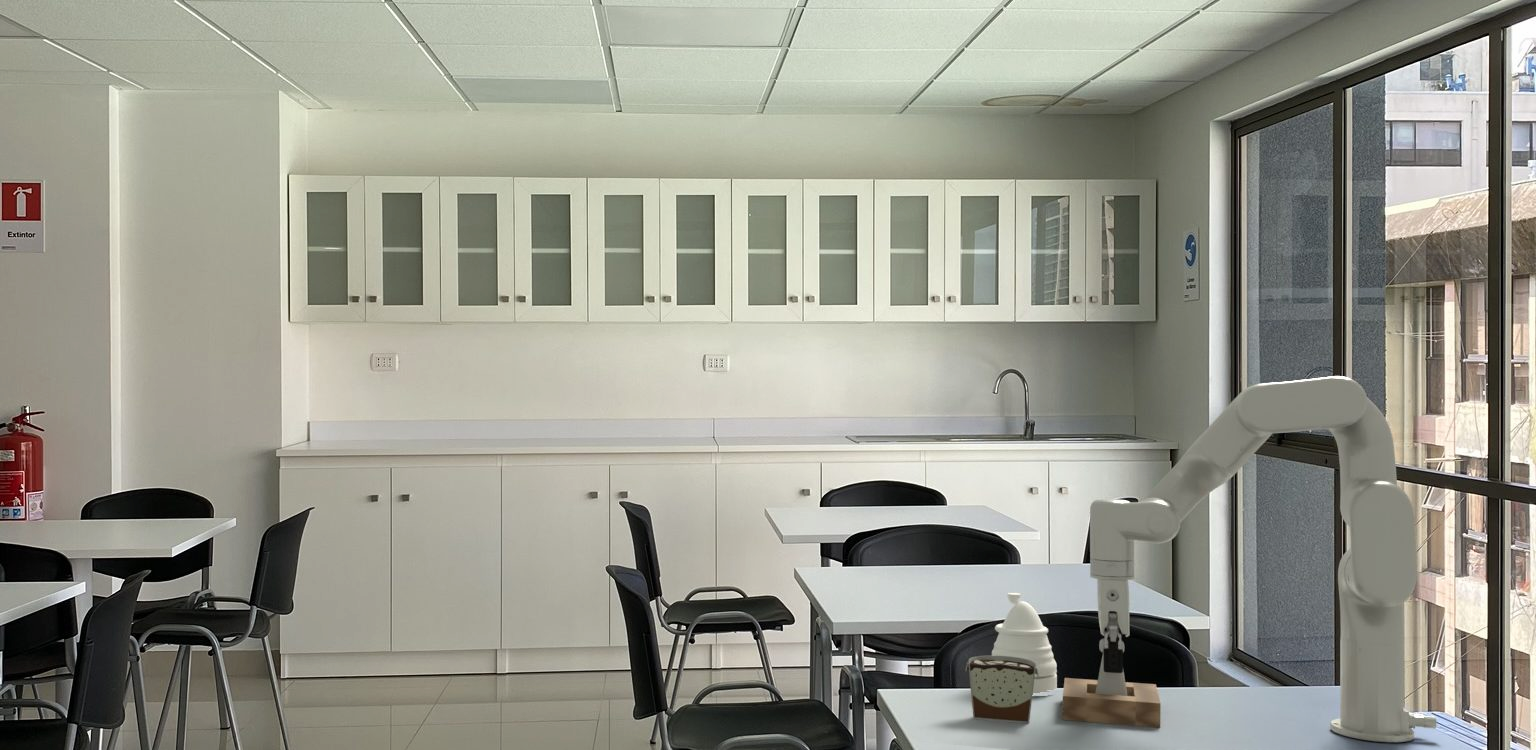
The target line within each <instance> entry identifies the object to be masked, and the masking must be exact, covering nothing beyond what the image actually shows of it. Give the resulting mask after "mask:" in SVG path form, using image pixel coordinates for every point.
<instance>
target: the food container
mask: <svg viewBox="0 0 1536 750" xmlns="http://www.w3.org/2000/svg"><path fill="white" fill-rule="evenodd" d="M967 671H968V673H969V685H970V695H971V697H970V698H971V706H972V707H971V709H972V718H973V720H985V721H995V722H996V721H997V722H1008V723H1021V724H1030V719H1031V709H1032V703H1033V702H1032V701H1033V697H1032V695H1033V686H1034V678H1035V674H1037V675H1038V670H1037V667H1036V663H1035V662H1033V661H1031V660H1028V659H1024V658H1018V657H1011V656H992V655H978V656H973V657H972V656H971V657H970V658H969V659H968V661H967V662H966V666H965V672H967ZM1038 677H1039V675H1038Z"/></svg>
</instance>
